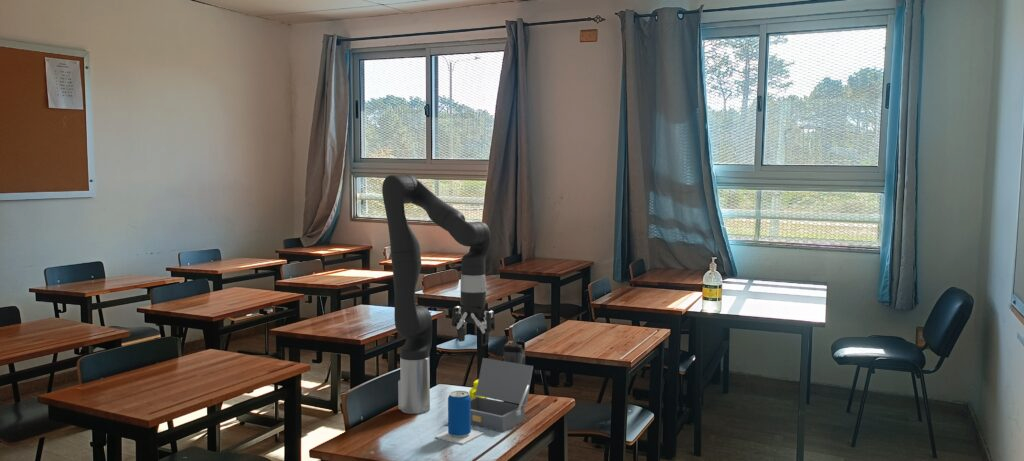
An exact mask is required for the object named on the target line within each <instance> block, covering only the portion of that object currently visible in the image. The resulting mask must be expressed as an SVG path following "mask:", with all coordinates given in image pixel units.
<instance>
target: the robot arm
mask: <svg viewBox="0 0 1024 461" xmlns="http://www.w3.org/2000/svg"><path fill="white" fill-rule="evenodd" d="M381 191H382V198H383V199H382V200H383V204H384V209H385V215H386V221H387V227H388V233H389V234H388V236H389V244H390V246H389V247H390V258H391V266H392V276H393V278H392V280H393V288H394V289H393V290H394V292H393V293H394V315H393V316H394V327H395V329H396V332H397V334H398V335H399V336H400V337H401V338H403V339H406V340H405V342H404V344H403V346H402V347H401V348H400V351H399V359H400V362H399V363H400V367H399V369H400V370H399V371H400V379H399V380H398V382H397V386H398V388H397V389H398V390H397V392H398V393H397V394H398V395H397V396H398V397H397V398H398V401H397V402H398V410H400V411H401V412H402V413H404V414H409V415H415V414H416V415H419V414H423V413H427V412H429V411H430V410H431V397H430V396H431V394H430V393H431V390H430V389H431V388H430V386H431V384H430V380H431V378H430V376H431V374H430V371H431V370H430V351H431V348H432V342H433V318H432V314H431V312H430V311H429V309H428V308H427V307H426V306H424V305H416V304H417V303H416V287H417V285H418V281H419V277H420V273H421V269H422V256H421V247H420V243H419V240H418V239H417V237H416V234H415V233H414V232H413V230H412V228H411V227H410V224H409V222H408V220H407V218H406V211H405V210H406V209H405V205H406V204H413V205H416V206H417V207H419V208H421V209H423V210H424V211H425V212H426V214H427V216H428V217H429V219H430V220H431V221H432V222H433V223H434V224H435V225H437V226H438V227H440V229H443V230H445V231H446V232H448V233H449V235H450V236H451V237H452V238H453V239H454V241H456V242H457V243H458V244H460V245H462V246H463V247H469V250H468V252H467V253H466V254H464V255H463V256H462V258H461V268H460V269H461V276H460V303H459V304H460V305H461V306H460V305H456V306H453V307H452V316H451V327H455V328H456V331H457V334H456V336H457V340H458V342H461V343H462V342H464V341H465V340H466V338H465V337H466V334H465V333H466V331H465V330H466V328H465V327H466V326H467V324H472V325H476V326H477V328H478V329H479V330H480V331H481V334H480V337H481V339H480V340H481V341H480V343H481V344H480V345H481V346H482V347H485V346H488V344H489V342H490V335H489V334H490V333H491V332H494V331H495V330H496V326H495V325H496V324H495V321H496V320H495V311H494V310H490V311H488V310H486V304H487V279H486V278H487V277H486V258H487V255H488V252H489V248H490V243H491V230H490V228H489V226H488V224H487V223H485V222H484V221H469V222H468V221H466V217H465V215H464V214H463V213H462V212H461V211H459V210H458V209H457V208H455V207H453V206H452V205H450V204H448V203H446V202H445V201H443V200H442V199H440V198H439V197H438V196H436V195H435V194H434V193H433V192H432V191H431V190H430V189H428V188H427V187H426V186H425V185H424V184H423V183H422V182H421V181H420V180H419V179H417V178H416V177H415V176H414V175H410V174H389V175H387V176H386V177H385V179H384V180H383V182H382V190H381ZM461 315H462V316H461Z"/></svg>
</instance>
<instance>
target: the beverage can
mask: <svg viewBox="0 0 1024 461" xmlns="http://www.w3.org/2000/svg"><path fill="white" fill-rule="evenodd" d="M469 395H470V394H469V392H468V391H466V390H454V391H451V392H449V395H448V397H447V423H448V424H447V427H448V428H447V430H448V433H449V434H450V435H451V436H453V437H458V438H459V437H465V436H467V435H468V434H469V433H470V432H471V430H472V425H471V398H470V396H469Z"/></svg>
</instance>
